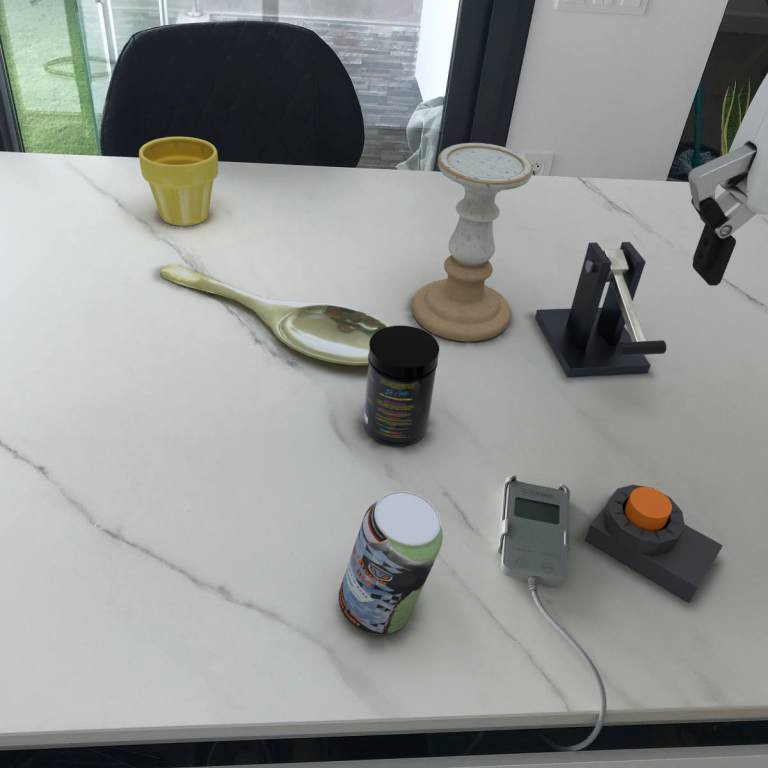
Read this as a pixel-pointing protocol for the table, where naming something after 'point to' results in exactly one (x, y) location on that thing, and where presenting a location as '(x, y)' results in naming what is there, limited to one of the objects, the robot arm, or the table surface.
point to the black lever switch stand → (594, 320)
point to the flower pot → (180, 177)
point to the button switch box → (655, 546)
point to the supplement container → (400, 384)
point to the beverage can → (390, 562)
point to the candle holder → (471, 245)
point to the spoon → (298, 320)
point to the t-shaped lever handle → (629, 310)
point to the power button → (648, 508)
